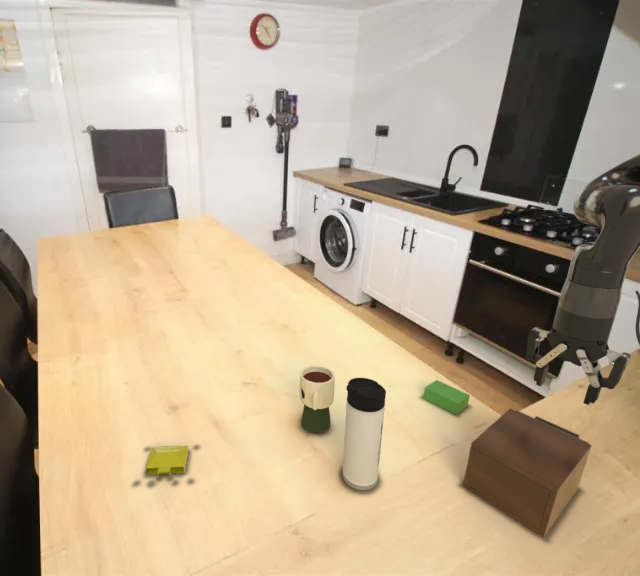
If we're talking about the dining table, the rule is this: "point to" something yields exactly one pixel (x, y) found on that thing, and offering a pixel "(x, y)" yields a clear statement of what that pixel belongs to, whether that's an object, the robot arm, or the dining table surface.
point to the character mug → (316, 397)
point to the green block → (446, 396)
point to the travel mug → (363, 433)
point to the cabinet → (526, 469)
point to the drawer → (555, 427)
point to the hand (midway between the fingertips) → (562, 392)
